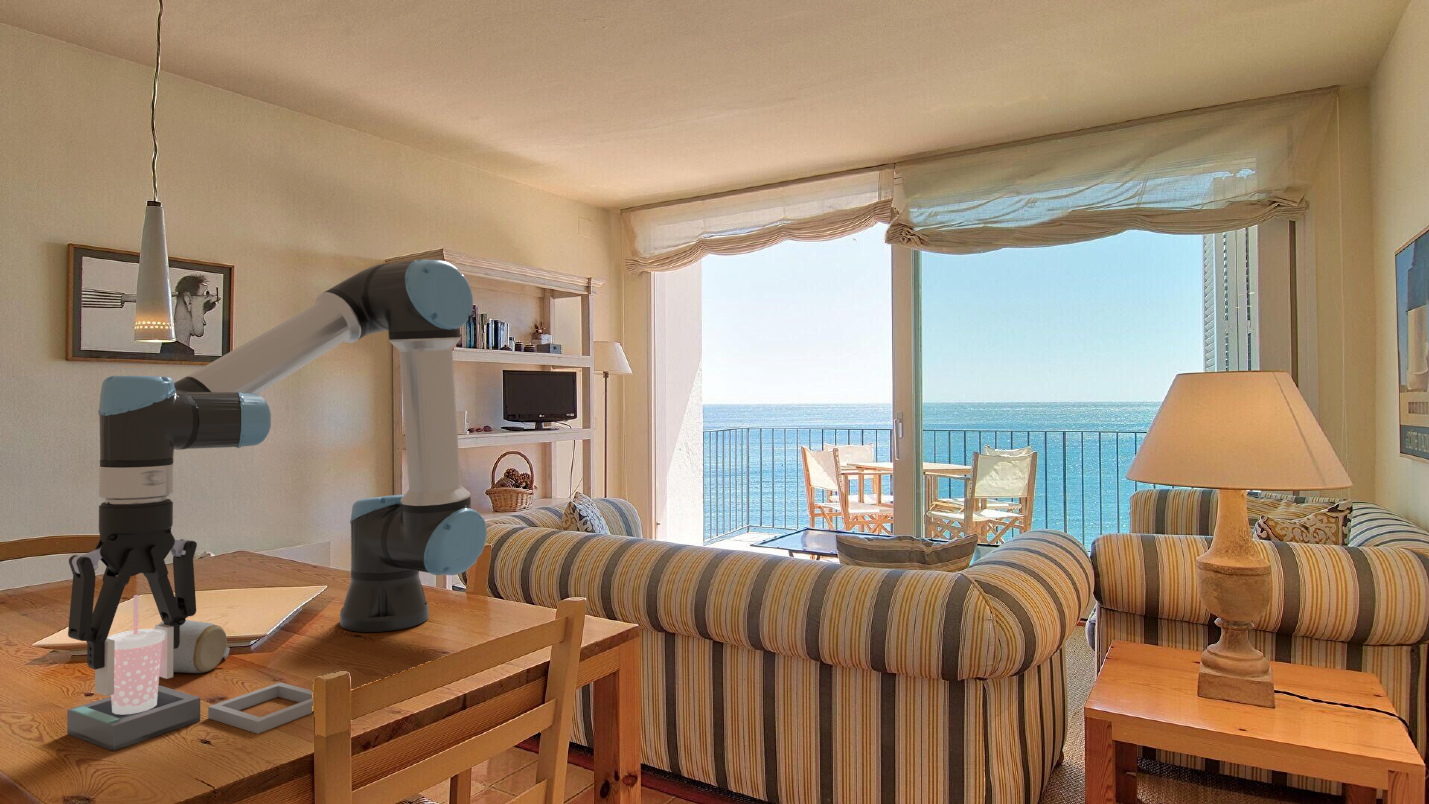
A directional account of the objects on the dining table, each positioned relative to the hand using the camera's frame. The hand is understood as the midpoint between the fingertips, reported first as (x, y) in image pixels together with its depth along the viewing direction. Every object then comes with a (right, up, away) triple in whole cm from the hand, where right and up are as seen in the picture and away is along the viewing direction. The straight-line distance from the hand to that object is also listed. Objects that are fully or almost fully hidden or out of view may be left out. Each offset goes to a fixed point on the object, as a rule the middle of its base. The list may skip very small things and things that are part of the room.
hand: (135, 684), depth 101 cm
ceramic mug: (-7, -5, +22) cm, 24 cm away
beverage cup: (0, -3, 0) cm, 3 cm away
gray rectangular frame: (+14, -6, +5) cm, 16 cm away
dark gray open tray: (0, -5, 0) cm, 6 cm away
